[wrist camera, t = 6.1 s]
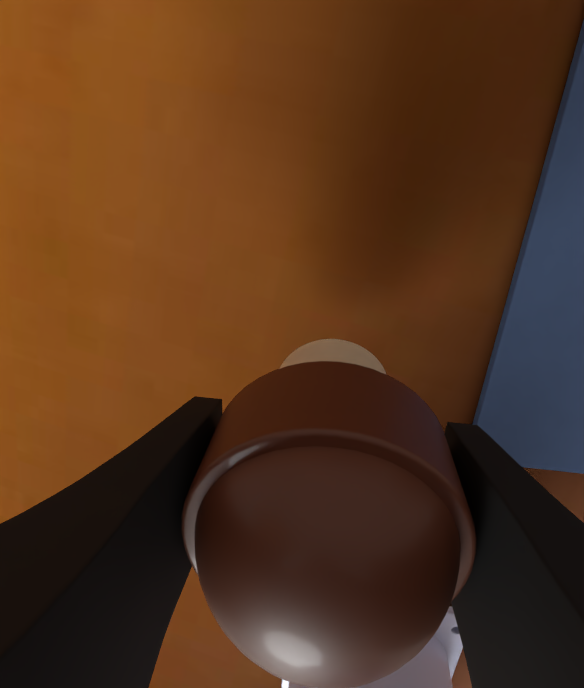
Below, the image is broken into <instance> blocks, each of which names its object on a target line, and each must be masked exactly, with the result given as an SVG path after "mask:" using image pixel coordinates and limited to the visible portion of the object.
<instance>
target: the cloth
mask: <svg viewBox="0 0 584 688" xmlns="http://www.w3.org/2000/svg"><path fill="white" fill-rule="evenodd" d="M472 425H478V426H479V427H480V428H481V429H483V430H484V431H485V432H486V433H487V434H488V435H489V436H490V437H491V438H492V439H493V440H494V441H495V442H496V443H498V444H499V445H500V446H501V447H502V448H503V449H504V450H505V451H506V452H507V453H508V454H509V455H510V456H511V457H512V458H513V459H514V460H515V461H516V462H517V463H518V464H519V465H520V466H521V467H527V468H536V469H545V470H555V471H564V472H573V473H583V474H584V20H583V23H582V27H581V31H580V34H579V38H578V42H577V45H576V49H575V53H574V56H573V60H572V63H571V67H570V71H569V74H568V78H567V82H566V85H565V89H564V93H563V96H562V100H561V104H560V107H559V111H558V114H557V118H556V122H555V125H554V129H553V133H552V136H551V140H550V144H549V147H548V151H547V155H546V158H545V162H544V165H543V169H542V173H541V176H540V180H539V184H538V187H537V191H536V195H535V198H534V202H533V205H532V209H531V213H530V216H529V220H528V224H527V227H526V231H525V235H524V238H523V242H522V246H521V249H520V253H519V256H518V260H517V264H516V267H515V271H514V275H513V278H512V282H511V286H510V289H509V293H508V297H507V300H506V304H505V307H504V311H503V315H502V318H501V322H500V326H499V329H498V333H497V337H496V340H495V344H494V348H493V351H492V355H491V358H490V362H489V366H488V369H487V373H486V377H485V380H484V384H483V388H482V391H481V395H480V398H479V402H478V406H477V409H476V413H475V417H474V420H473V424H472Z"/></svg>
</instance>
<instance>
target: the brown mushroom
mask: <svg viewBox="0 0 584 688" xmlns="http://www.w3.org/2000/svg"><path fill="white" fill-rule="evenodd" d="M181 529H182V537H183V543H184V547H185V550H186V553H187V556H188V559H189V560H190V562H191V564H192V566H193V568H194V570H195V572H196V573H197V574H198V576H199V581H200V584H201V587H202V590H203V592H204V595H205V598H206V601H207V603H208V606H209V608H210V610H211V612H212V613H213V615H214V617H215V619H216V620H217V622H218V624H219V626H220V627H221V629H222V630H223V631H224V633H225V634H226V636H227V637H228V638H229V639H230V640H231V641H232V642H233V644H234V645H235V646H236V647H237V648H238V649H239V650H240V651H241V652H242V653H243V654H244V655H245V656H246V657H247V658H249V659H250V660H251V661H253V662H254V663H255V664H257V665H258V666H260V667H261V668H263V669H264V670H266V671H267V672H269V673H271V674H272V675H274V676H276V677H278V678H281V679H283V680H286V681H288V682H291V683H294V684H298V685H302V686H307V687H312V688H353V687H358V686H362V685H365V684H369V683H371V682H374V681H376V680H379V679H381V678H383V677H386V676H388V675H390V674H392V673H393V672H395V671H397V670H398V669H400V668H401V667H402V666H403V665H405V664H406V663H407V662H409V661H410V660H411V659H412V658H414V657H415V656H416V655H417V654H418V653H419V652H420V651H421V650H422V649H423V648H424V647H425V645H426V644H427V643H428V642H429V641H430V639H431V638H432V637H433V636H434V634H435V633H436V631H437V630H438V628H439V626H440V625H441V623H442V621H443V619H444V617H445V615H446V613H447V611H448V609H449V606H450V604H451V602H452V601H453V600H454V598H455V597H456V596H457V595H458V594H459V593H460V591H461V590H462V588H463V587H464V585H465V584H466V582H467V580H468V578H469V575H470V573H471V571H472V568H473V564H474V559H475V555H476V540H477V537H476V531H475V524H474V521H473V518H472V515H471V512H470V509H469V506H468V503H467V500H466V497H465V494H464V491H463V488H462V485H461V482H460V479H459V476H458V473H457V470H456V467H455V464H454V461H453V458H452V455H451V452H450V449H449V446H448V443H447V440H446V437H445V434H444V431H443V428H442V426H441V425H440V423H439V421H438V419H437V417H436V415H435V414H434V413H433V411H432V410H431V409H430V408H429V406H428V405H427V404H426V403H425V402H424V401H423V400H422V399H421V398H420V397H419V396H418V395H417V394H416V393H415V392H414V391H412V390H411V389H409V388H408V387H407V386H405V385H404V384H403V383H401V382H399V381H397V380H396V379H394V378H392V377H390V376H388V375H387V374H386V372H385V370H384V368H383V366H382V364H381V363H380V362H379V360H378V359H377V358H376V357H375V356H374V355H373V354H372V353H370V352H369V351H368V350H366V349H365V348H363V347H361V346H359V345H357V344H355V343H352V342H349V341H345V340H339V339H323V340H317V341H313V342H310V343H307V344H305V345H303V346H301V347H299V348H298V349H296V350H295V351H293V352H292V353H291V354H290V355H289V356H288V357H287V358H286V359H285V360H284V362H283V364H282V365H281V367H280V369H277V370H274V371H272V372H270V373H268V374H266V375H264V376H262V377H260V378H258V379H256V380H255V381H253V382H252V383H250V384H249V385H247V386H246V387H245V388H244V389H243V390H242V391H240V392H239V393H238V394H237V395H236V396H235V397H234V399H233V400H232V401H231V402H230V403H229V405H228V406H227V407H226V409H225V411H224V413H223V414H222V416H221V418H220V420H219V422H218V425H217V427H216V429H215V431H214V434H213V436H212V438H211V441H210V443H209V445H208V447H207V450H206V452H205V454H204V457H203V459H202V461H201V463H200V466H199V468H198V470H197V472H196V475H195V477H194V479H193V482H192V484H191V486H190V488H189V491H188V493H187V496H186V499H185V501H184V505H183V511H182V526H181Z"/></svg>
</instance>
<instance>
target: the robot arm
mask: <svg viewBox="0 0 584 688" xmlns="http://www.w3.org/2000/svg"><path fill="white" fill-rule="evenodd" d="M221 416H222V399H214V398H204V397H194V398H192V399H191V400H189V401H188V402H187V403H185V404H184V405H183V406H181V407H180V408H179V409H178V410H176V411H175V412H174V413H172V414H171V415H170V416H169V417H167V418H166V419H165V420H163V421H162V422H161V423H159V424H158V425H157V426H156V427H154V428H153V429H152V430H150V431H149V432H148V433H146V434H145V435H144V436H142V437H141V438H140V439H138V440H137V441H136V442H134V443H133V444H131V445H130V446H129V447H127V448H126V449H124V450H123V451H122V452H120V453H119V454H117V455H116V456H114V457H113V458H111V459H110V460H108V461H107V462H105V463H104V464H102V465H101V466H99V467H98V468H96V469H95V470H93V471H92V472H90V473H89V474H87V475H86V476H84V477H83V478H81V479H80V480H78V481H76V482H75V483H73V484H72V485H70V486H68V487H67V488H65V489H63V490H62V491H60V492H58V493H57V494H55V495H53V496H51V497H50V498H48V499H46V500H44V501H42V502H41V503H39V504H37V505H35V506H34V507H32V508H30V509H28V510H26V511H25V512H23V513H21V514H19V515H17V516H15V517H13V518H11V519H9V520H7V521H5V522H3V523H1V524H0V688H148V687H149V684H150V681H151V677H152V674H153V671H154V667H155V664H156V661H157V658H158V654H159V651H160V648H161V645H162V641H163V639H164V636H165V633H166V630H167V627H168V625H169V622H170V619H171V616H172V614H173V611H174V609H175V606H176V604H177V602H178V599H179V597H180V594H181V592H182V589H183V587H184V584H185V582H186V579H187V577H188V574H189V572H190V569H191V567H192V564H191V562H190V560H189V559H188V556H187V553H186V550H185V547H184V543H183V537H182V529H181V526H182V511H183V505H184V501H185V499H186V496H187V493H188V491H189V488H190V486H191V484H192V482H193V479H194V477H195V475H196V472H197V470H198V468H199V466H200V463H201V461H202V459H203V457H204V454H205V452H206V450H207V447H208V445H209V443H210V441H211V438H212V436H213V434H214V431H215V429H216V427H217V425H218V422H219V420H220V418H221ZM445 437H446V440H447V443H448V446H449V449H450V452H451V455H452V458H453V461H454V464H455V467H456V470H457V473H458V476H459V479H460V482H461V485H462V488H463V491H464V494H465V497H466V500H467V503H468V506H469V509H470V512H471V515H472V518H473V521H474V524H475V531H476V537H477V540H476V555H475V559H474V564H473V568H472V571H471V573H470V575H469V578H468V580H467V582H466V584H465V585H464V587H463V588H462V590H461V591H460V593H459V594H458V595H457V596H456V597H455V598H454V600H453V601H452V602H451V604H452V606H449V609H448V611H447V613H446V615H445V617H444V619H443V621H442V623H441V625H440V626H439V628H438V630H437V631H436V633H435V634H434V636H433V637H432V638H431V639H430V641H429V642H428V643H427V644H426V645H425V647H424V648H423V649H422V650H421V651H420V652H419V653H418V654H417V655H416V656H415V657H414V658H412V659H411V660H410V661H409V662H407V663H406V664H405V665H403V666H402V667H401V668H400V669H398V670H397V671H395V672H393V673H392V674H390V675H388V676H386V677H383V678H381V679H379V680H376V681H374V682H371V683H369V684H365V685H362V686H358V687H353V688H453V686H452V681H451V679H452V676H453V674H454V671H455V668H456V665H457V662H458V660H459V657H460V654H461V651H462V648H463V649H464V653H465V657H466V661H467V666H468V670H469V675H470V679H471V684H472V688H584V523H583V522H582V521H581V520H579V519H578V518H577V517H576V516H575V515H574V514H573V513H571V512H570V511H569V510H568V509H567V508H566V507H565V506H563V505H562V504H561V503H560V502H559V501H558V500H557V499H556V498H555V497H553V496H552V495H551V494H550V493H549V492H548V491H547V490H546V489H545V488H544V487H543V486H542V485H540V484H539V483H538V482H537V481H536V480H535V479H534V478H533V477H532V476H531V475H530V474H529V473H528V472H527V471H526V470H525V469H523V468H522V467H521V466H520V465H519V464H518V463H517V462H516V461H515V460H514V459H513V458H512V457H511V456H510V455H509V454H508V453H507V452H506V451H505V450H504V449H503V448H502V447H501V446H500V445H499V444H498V443H496V442H495V441H494V440H493V439H492V438H491V437H490V436H489V435H488V434H487V433H486V432H485V431H484V430H483V429H481V428H480V427H479V426H478V425H472V424H462V423H452V422H447V426H446V430H445ZM281 688H312V687H307V686H302V685H298V684H294V683H291V682H288V681H286V680H283V679H282V687H281Z"/></svg>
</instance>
